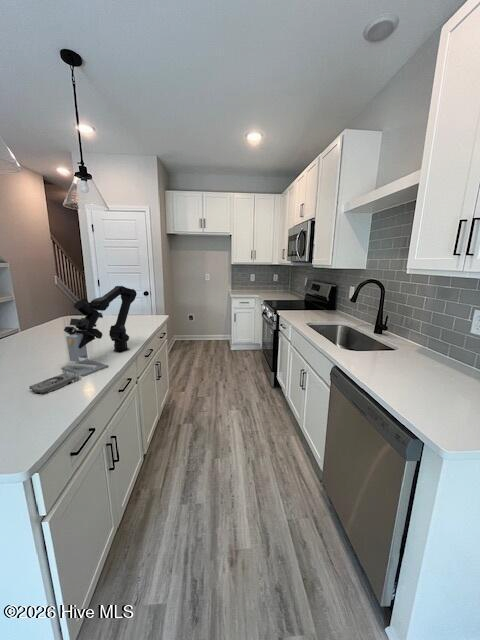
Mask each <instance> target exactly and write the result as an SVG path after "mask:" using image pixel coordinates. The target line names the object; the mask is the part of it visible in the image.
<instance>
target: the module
mask: <svg viewBox="0 0 480 640" xmlns="http://www.w3.org/2000/svg"><path fill="white" fill-rule="evenodd" d="M65 337H66V338H65V339H66V343H67V351H68V356H69V362H73V363H76V362H79V361H80V358H82V359H88V358H89V357H88V350H87V344H86V345H85V346H83V347H82V348H79V345H80V342H81V340H82V338H83V334H80V333H75V334H72V335H69V334H68V335H65Z"/></svg>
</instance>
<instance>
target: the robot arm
mask: <svg viewBox="0 0 480 640" xmlns="http://www.w3.org/2000/svg"><path fill="white" fill-rule="evenodd" d="M117 297H120V299H121V304H120V308H119V311H118V315H117V319H116V322H115V324H114V325H111V326H110V330H109V331H108V332H109V334H108V335H109V338H110V340H111V342H113V343H114V344H113V348H114V349H113V351H114V352H118V353H124V352H126V351H128V350H130V348H129V347H128V342H129V340H130V335H128V334H127V329H126V322H127V319H128V315H129V311H130V307H131V304H132V303H133V302H134V301H135V299H136V297H137V291H136V290H135V289H134V288H129V287H126V286H123V285H115V286H114V287H113V288H112V289H110V290H109V291H108V292H107V293H105V294H104V295H103V296H100V297H97V298H93V299H91V301H89V300H87V298H83V297H82V298H81V299H80V300H78V301H76V302H75V303H74V304H73V308H74V310H76V311H77V312H78V313H80V315H82V316H85V317H81V318H80V319H79V318H70V322H69V326H67V325H66V326H65V327H64V329H63V331H64V332H65V333H67V334H68V336H69V335H72V334H75V333H80V334H83V338H82V340H81V342H80V345H79V348H82V347H83V346H85V345H86V346H87V344H89V343H91V342H92V341H94V340H96V339H98V340H99V339H102V337H103V332H102V331H100V330H99V329H98V328H96V327H97V321H98V320H99V318H101V319H102V318H104V316H103V311H106V310H107V309H108V308H109V306H110V303H111V302H113V301H114V300H115V299H116V298H117ZM99 311H101V312H99Z"/></svg>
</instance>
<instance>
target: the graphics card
mask: <svg viewBox="0 0 480 640" xmlns="http://www.w3.org/2000/svg"><path fill="white" fill-rule="evenodd" d="M61 372H62V373H61V374H58V375H55V376H53V377H51V378H47V379H45V380H43V381H40V382H37V383H35V384H32V385H29V386H28V387H29V391H30V390H32V391H33V392H38V393H39V394H43V393H45V392H47V393H49V392H53V391H55V390H57V389H59V388H62V387H64V386H66V385H69V383H72V384H75V383H78V382H80V381H81V380H82V376H80V375H81V373H80V374H77V373H75V374H74V373H73V372H69V371H65V370H61Z"/></svg>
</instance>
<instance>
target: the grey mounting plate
mask: <svg viewBox="0 0 480 640" xmlns="http://www.w3.org/2000/svg"><path fill="white" fill-rule="evenodd" d="M108 368H109V364H105V363H102V362H98V361H94V360H92V359H91V360H90V359H88V358H84V359H82V360H79V362H72V363H70V364H69V365H65V366H61V367H60V369H61V371H63V370H65V371H69V372H73V373H74V374H75V373H77V374H80V373H81V375H80V376H81V378H82V377H86V376H88V375H91V374H95V373H97V372H99V370H100V371H102V370H106V369H108ZM74 374H73V375H74Z"/></svg>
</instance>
